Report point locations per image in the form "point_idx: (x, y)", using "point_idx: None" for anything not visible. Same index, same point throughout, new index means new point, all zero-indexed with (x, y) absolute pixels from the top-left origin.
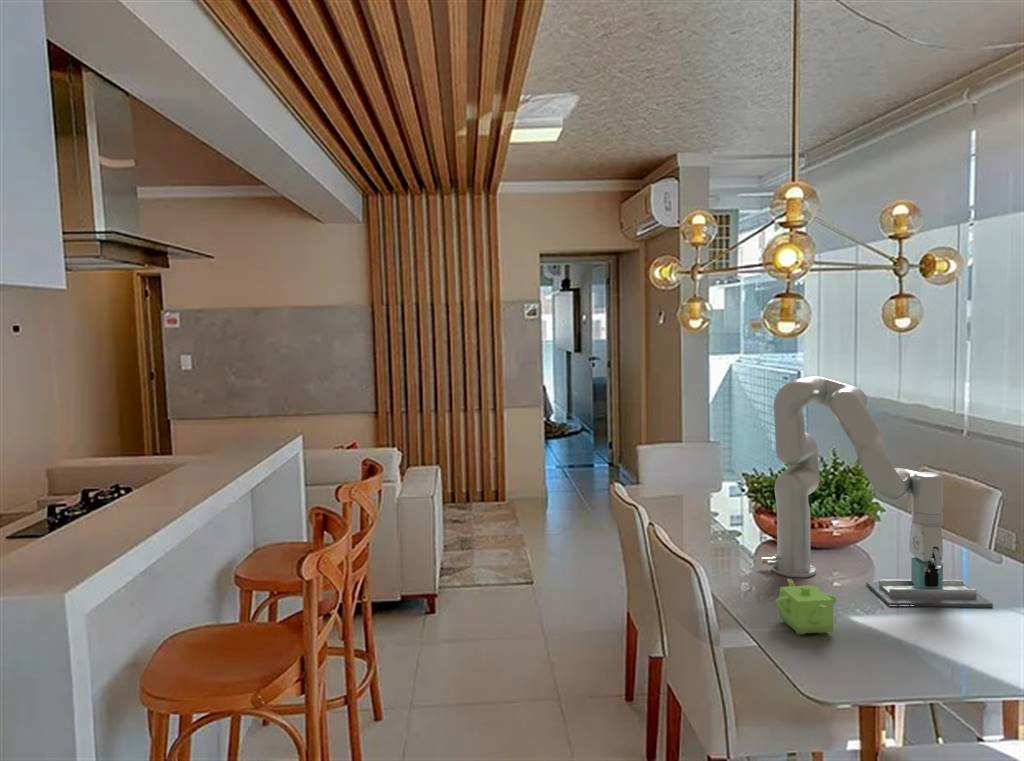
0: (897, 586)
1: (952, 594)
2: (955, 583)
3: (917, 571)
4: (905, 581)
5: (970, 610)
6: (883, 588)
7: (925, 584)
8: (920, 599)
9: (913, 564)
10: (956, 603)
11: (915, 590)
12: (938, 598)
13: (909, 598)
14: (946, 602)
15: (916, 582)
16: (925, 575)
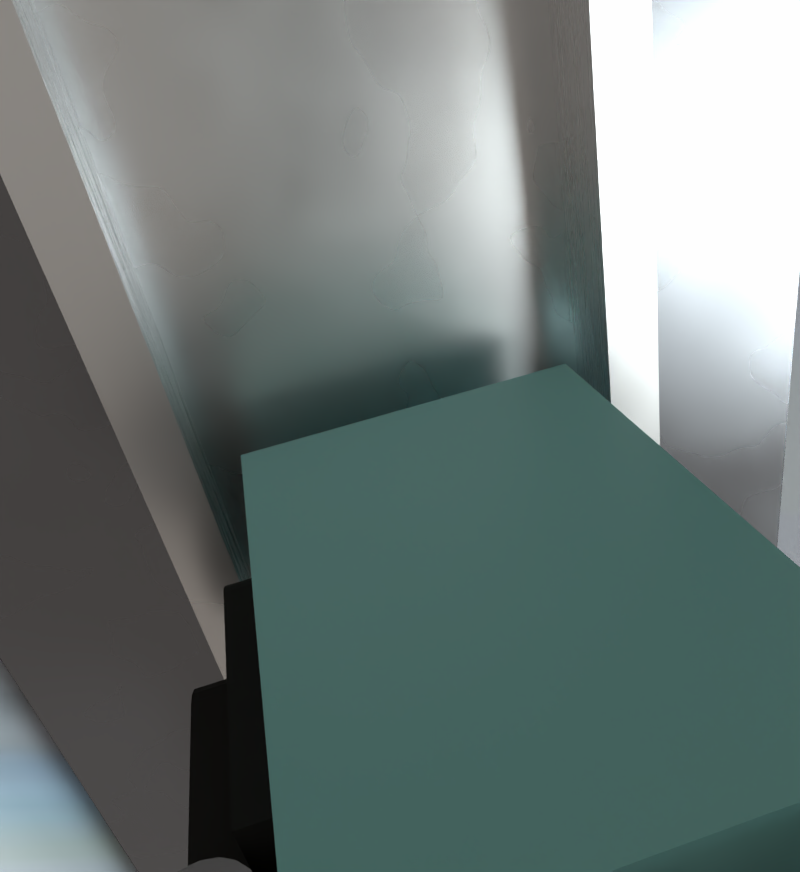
0: (454, 84)
1: None
2: None
3: (389, 634)
4: (593, 268)
5: (30, 828)
6: None
7: (236, 594)
8: (33, 396)
9: (698, 636)
10: (74, 768)
11: (95, 380)
12: (191, 613)
13: (8, 224)
14: (56, 686)
15: (378, 454)
16: (251, 739)
